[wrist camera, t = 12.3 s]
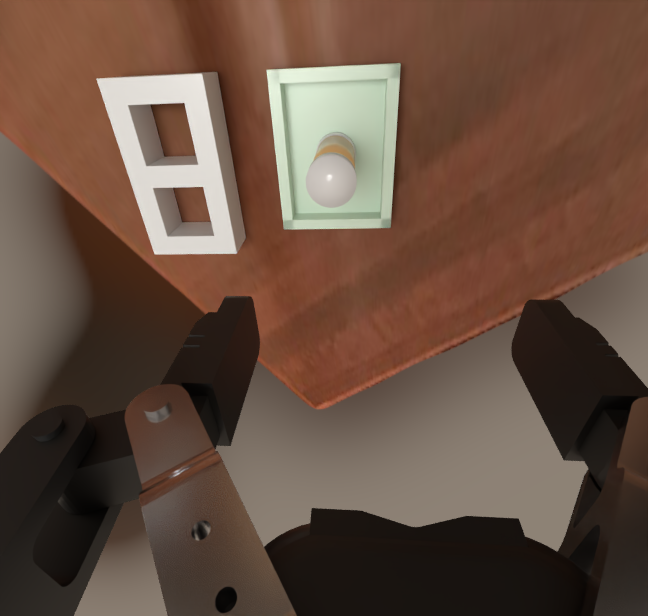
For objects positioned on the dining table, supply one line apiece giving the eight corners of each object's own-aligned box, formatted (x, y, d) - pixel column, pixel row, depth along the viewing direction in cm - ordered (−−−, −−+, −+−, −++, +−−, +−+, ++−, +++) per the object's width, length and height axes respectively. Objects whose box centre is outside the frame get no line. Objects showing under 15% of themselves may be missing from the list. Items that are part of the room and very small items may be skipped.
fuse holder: (121, 76, 34) (96, 78, 30) (217, 71, 33) (202, 73, 30) (170, 239, 43) (154, 254, 39) (246, 238, 42) (236, 253, 39)
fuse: (315, 132, 35) (303, 156, 27) (355, 131, 34) (356, 155, 26) (317, 174, 37) (307, 208, 29) (355, 172, 37) (356, 207, 28)
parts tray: (272, 69, 33) (266, 70, 31) (397, 62, 32) (400, 63, 30) (287, 220, 41) (283, 229, 38) (388, 219, 40) (390, 227, 38)
